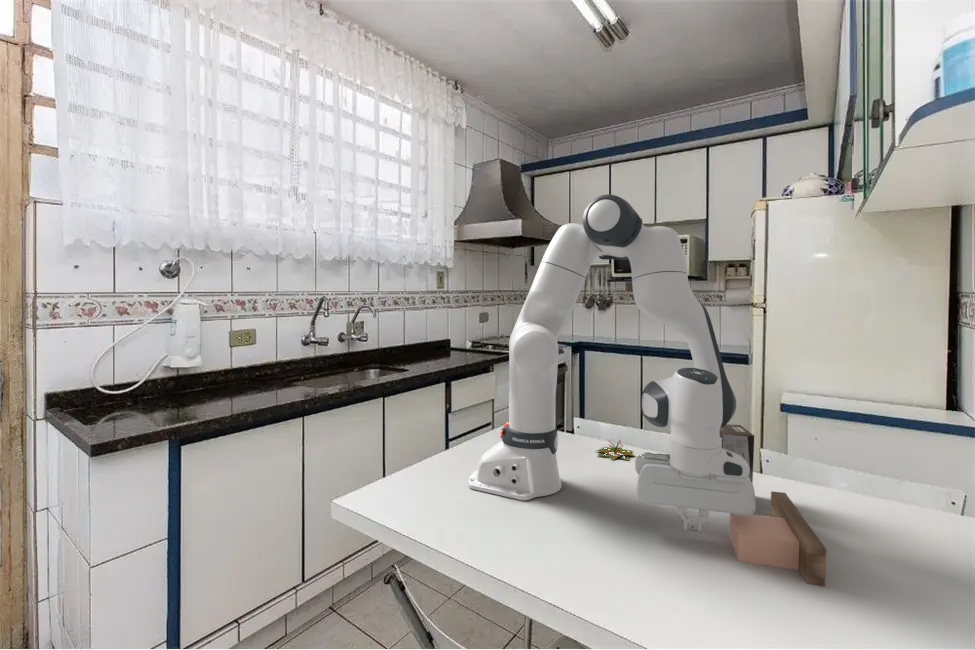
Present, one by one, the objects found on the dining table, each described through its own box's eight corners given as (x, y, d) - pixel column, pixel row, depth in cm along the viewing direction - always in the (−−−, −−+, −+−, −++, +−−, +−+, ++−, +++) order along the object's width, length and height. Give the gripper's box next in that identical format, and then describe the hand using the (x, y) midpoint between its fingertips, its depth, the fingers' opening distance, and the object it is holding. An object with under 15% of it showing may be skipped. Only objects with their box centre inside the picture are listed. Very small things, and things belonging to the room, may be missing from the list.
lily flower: (639, 452, 139) (639, 436, 139) (634, 465, 128) (635, 449, 128) (597, 446, 144) (598, 432, 144) (590, 459, 133) (590, 443, 132)
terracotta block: (738, 562, 82) (738, 534, 81) (729, 536, 90) (729, 511, 90) (798, 571, 79) (799, 542, 78) (783, 544, 87) (784, 518, 87)
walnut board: (806, 583, 75) (807, 546, 75) (770, 520, 96) (771, 491, 96) (824, 585, 74) (826, 549, 74) (784, 521, 95) (785, 492, 95)
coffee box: (753, 510, 100) (755, 435, 99) (720, 507, 102) (722, 434, 101) (739, 492, 109) (741, 424, 108) (709, 490, 111) (711, 422, 110)
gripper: (635, 456, 88) (633, 528, 89) (759, 469, 82) (756, 546, 82) (635, 446, 94) (633, 514, 95) (751, 457, 88) (748, 529, 88)
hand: (691, 529), depth 89 cm, fingers closed
